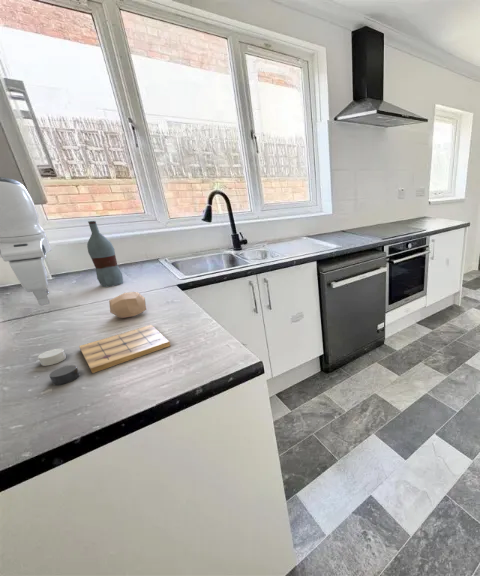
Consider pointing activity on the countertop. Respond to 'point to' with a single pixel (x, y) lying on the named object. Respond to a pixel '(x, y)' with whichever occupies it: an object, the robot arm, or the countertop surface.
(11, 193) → the robot arm
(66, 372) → the black stone
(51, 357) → the cream stone
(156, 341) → the board
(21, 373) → the countertop surface
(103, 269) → the bottle
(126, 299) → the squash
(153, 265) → the countertop surface
